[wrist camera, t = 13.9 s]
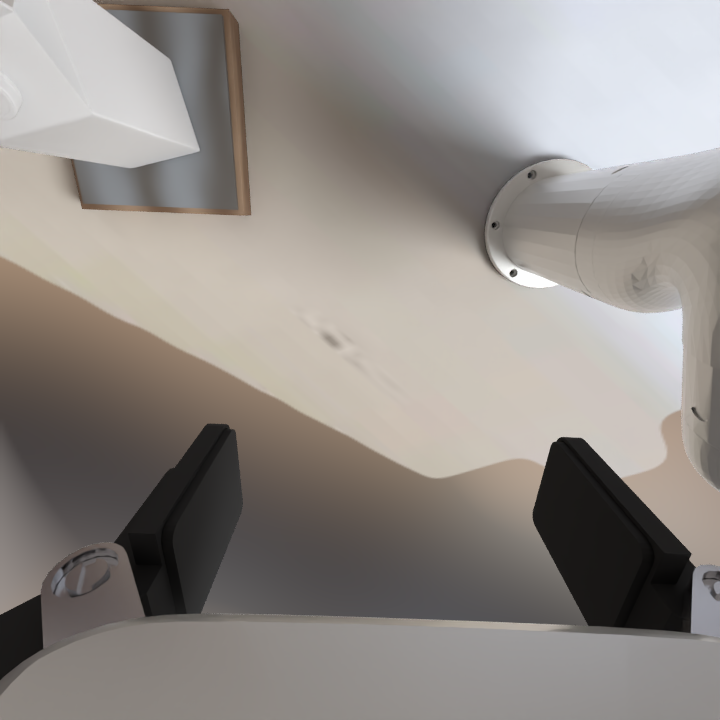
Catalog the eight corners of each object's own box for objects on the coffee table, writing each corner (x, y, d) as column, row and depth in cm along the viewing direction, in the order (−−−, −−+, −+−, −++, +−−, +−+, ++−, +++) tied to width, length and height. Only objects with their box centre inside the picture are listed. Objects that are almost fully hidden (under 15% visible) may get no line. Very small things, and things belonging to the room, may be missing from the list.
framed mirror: (238, 23, 34) (227, 7, 31) (251, 215, 40) (242, 215, 37) (59, 15, 34) (31, -2, 31) (99, 208, 40) (79, 208, 37)
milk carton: (96, 80, 33) (-215, -66, 15) (172, 59, 32) (-60, -119, 15) (130, 169, 35) (-100, 132, 18) (201, 151, 35) (35, 95, 17)
